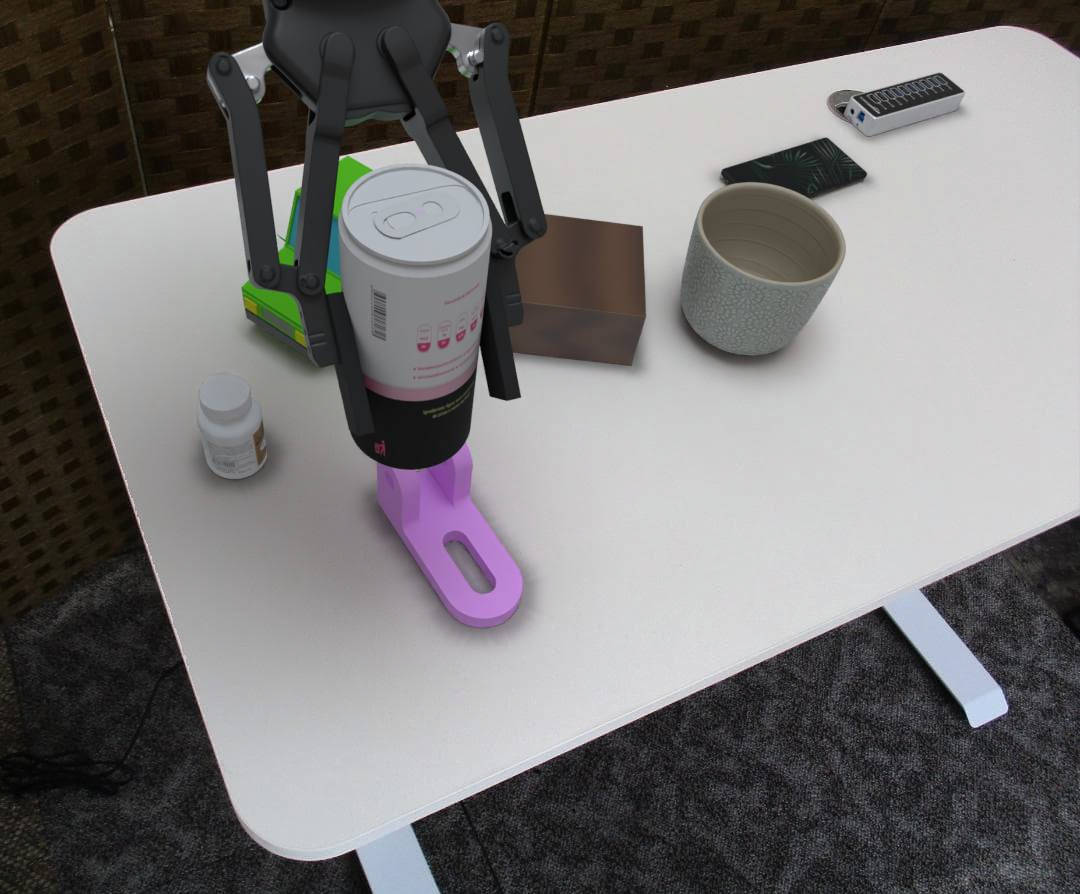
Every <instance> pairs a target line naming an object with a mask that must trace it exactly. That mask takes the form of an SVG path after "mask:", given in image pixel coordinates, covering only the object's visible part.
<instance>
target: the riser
mask: <svg viewBox="0 0 1080 894" xmlns="http://www.w3.org/2000/svg"><path fill="white" fill-rule="evenodd" d="M544 214H545V218H546V221H547V231H546V233H545V234H544V236H543V237H541V238H539V239H536V240H534V241H532V242H531V243H529V244H528V245H526V246H524V247H523V248H522V249H520V250H519V253H518V254H517V255H516V258H515V267H516V272H517V278H518V283H519V289H520V294H521V299H522V305H523V310H524V316H523V322H522V324H521V325H517V326H512V327H508V330H509V335H510V341H511V346H512V351H513V353H518V354H519V353H520V354H526V355H536V356H543V357H554V358H562V359H571V360H579V361H588V362H596V363H605V364H614V365H621V366H622V365H624V366H632V365H633V362H634V359H635V355H636V352H637V348H638V345H639V342H640V338H641V335H642V332H643V328H644V325H645V323H646V319H647V302H646V299H647V298H646V275H645V246H644V245H645V243H644V226H643V225H636V224H628V223H622V222H621V223H620V222H612V221H604V220H596V219H588V218H581V217H573V216H564V215H557V214H548V213H544Z"/></svg>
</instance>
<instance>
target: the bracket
mask: <svg viewBox="0 0 1080 894" xmlns="http://www.w3.org/2000/svg"><path fill="white" fill-rule="evenodd" d="M473 464H474V463H473V457H472V453H471V451H470V448H469V446H468V443H467V441H466V442H465V444H464V445H463V447H462V448H461V449H460V450H459V451H458V452H457V453H456V454H455V455H454V456H453V457H451V458H450V459H448V460H447V461H445V462H443V463H441V464H439V465H436V466H433V467H430V468H426V469H421V470H420V471H418V472H417V470H402V469H396V468H391V467H388V466H385V465H382V464H380V463H378V462H376V502H377V503H378V505H379V506H380V508H381V510H382V511H383V512H384V514H385V516H386V518H387V519H388V521H389V522H390V523H391V525H392V527H393V528H394V530H395V531H396V533H397V534H398V536H399V537H400V539H401V541H402V542H403V543H404V545H405V547H406V548H407V550H408V551H409V553H410V555H411V556H412V557H413V559H414V560H415V562H416V564H417V565H418V567H419V569H420V570H421V572H422V573H423V574H424V576H425V577H426V580H427V581H428V582H429V584H430V585H431V587H432V588H433V590H434V591H435V594H436V595H437V596H438V598H439V599H440V601H441V602H442V604H443V605H444V607H445V608H446V610H447V612H448V613H449V615H451V616H452V617H453V618H454V619H455V620H457V621H458V622H460V623H462V624H464V625H466V626H469V627H473V628H479V629H480V628H481V629H483V628H492V627H497V626H498V625H501V624H503V623H505V622H506V621H508V620H509V619H510V618H511V617H512V616H513V615H514V613H515V612H516V611H517V609H518V607H519V605H520V601H521V597H522V594H523V589H524V588H523V587H524V582H523V576H522V573H521V570H520V568H519V566H518V565H517V563H516V562H515V560H514V559H513V558H512V556H511V555H510V553H509V552H508V550H507V549H506V547H505V546H504V545H503V544H502V542H501V541H500V539H499V538H498V536H497V535H496V533H495V532H494V530H493V529H492V528H491V527H490V525H489V524H488V522H487V521H486V519H485V518H484V516H483V515H482V513H481V512H480V511H479V510H478V508H477V507H476V505H475V504H474V502H473V500H472V498H471V495H470V492H471V485H472V476H473V469H474V468H473V467H474V465H473ZM455 541H456V542H459V543H461V544H462V545H464V546H465V548H466V549H467V551H468V552H469V554H470V555H471V557H472V558H473V560H474V561H475V563H476V565H477V566H478V567H479V568H480V569H481V571H482V573H483V574H484V576H485V578H486V579H487V581H489V583H490V584H491V586H492V588H493V589H492V590H491V591H490V592H488V593H480V592H477V591H475V590H474V588H472V587H471V585H470V583H469V582H468V581H467V579H466V578H465V576H464V575H463V573H462V572H461V570H460V568H459V567H458V565H457V564H456V563H455V561H454V559H453V557H452V556H451V555H450V553H449V552H448V551H447V548H445V545H446V544H447V543H450V542H455Z"/></svg>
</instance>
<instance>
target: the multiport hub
mask: <svg viewBox="0 0 1080 894" xmlns="http://www.w3.org/2000/svg"><path fill="white" fill-rule="evenodd" d="M965 95H966V90H964V89H963V88H962V87H960V86H959V85H958V84H956V83H955V81H953V80H952V79H950V78H949V77H948V76H947V75H945V74H944V73H943V72H934V73H931V74H927V75H924V76H920V77H916V78H913V79H909V80H905V81H901V82H898V83H895V84H891V85H890V84H889V85H888V86H887V85H886V86H884V87H880V88H876V89H872V90H869V91H865V92H862V93H857V94H855V95H851V96H850V98H849V100H848V102H847V105H846V107H845V110H844V112H843V117H844V118H845V119H846V120H847V121H849V123H851V124H852V125H853V127H856V128H857V130H858V131H860V132H861V133H862V134H863V135H864V136H866V137H872V136H875V135H878V134H882V133H885V132H886V133H887V132H889V131H892V130H895V129H899V128H902V127H905V126H909V125H912V124H917V123H919V122H923V121H926V120H929V119H933V118H936V117H939V116H942V115H946V114H949V113H952V112H956V111H957V110H958V108H959V106H960V104H961V103H962V101H963V98H964V97H965Z"/></svg>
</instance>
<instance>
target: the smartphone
mask: <svg viewBox="0 0 1080 894" xmlns="http://www.w3.org/2000/svg"><path fill="white" fill-rule="evenodd" d="M720 175H721V176H722V178H723V179H725V180H726V181H727V183H729V185H731V184H736V183H745V182H757V183H766V184H772V185H777V186H780V187H784V188H787V189H790V190H792V191H795V192H797V193H799V194H802V195H804V196H805V197H807V198H809V199H810V198H811V197H814V196H817V195H820V194H823V193H827V192H830V191H832V190H835V189H838V188H842V187H844V186H847V185H850V184H852V183H855V182H858V181H862V180H864V179H866V178H867V176H868V172H867V171H866V169H863V168H862V166H860V165H859V164H858V162H856V161H855V160H854V159H853V158H851V157H850V156H849V155H848V154H847V153H846V152H845V151H843V149H841V148H840V147H839V146H838V145H837V144H836V143H834V142H833V141H832V140H831V139H830V138H829V137H822V138H819V139H816V140H811V141H809V142H806V143H802V144H799V145H796V146H793V147H790V148H789V147H788V148H786V149H783V150H780V151H775V152H772V153H769V154H766V155H762V156H760V157H757V158H754V159H749V160H747V161H743V162H741V163H737V164H734V165H731V166H728V167H724V168H722V170H721V171H720Z"/></svg>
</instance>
